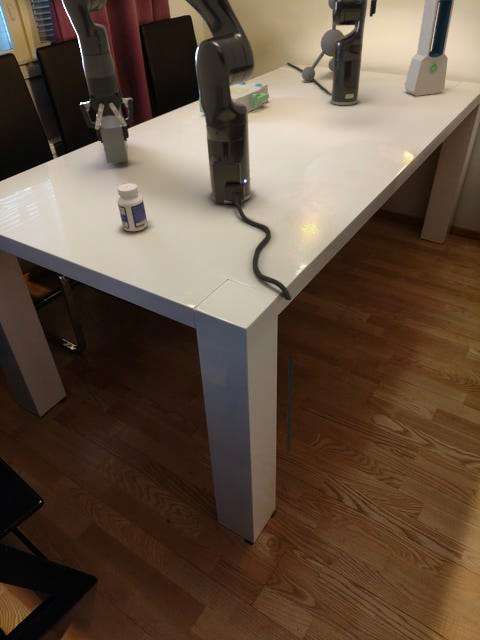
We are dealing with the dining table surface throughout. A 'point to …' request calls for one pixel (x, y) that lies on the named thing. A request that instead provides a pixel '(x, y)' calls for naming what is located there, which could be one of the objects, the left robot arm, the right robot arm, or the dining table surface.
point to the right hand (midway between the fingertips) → (355, 17)
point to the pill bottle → (131, 208)
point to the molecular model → (324, 49)
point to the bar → (113, 139)
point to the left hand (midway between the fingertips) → (114, 140)
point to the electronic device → (428, 63)
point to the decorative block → (248, 95)
